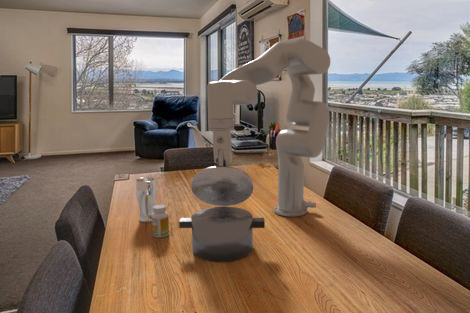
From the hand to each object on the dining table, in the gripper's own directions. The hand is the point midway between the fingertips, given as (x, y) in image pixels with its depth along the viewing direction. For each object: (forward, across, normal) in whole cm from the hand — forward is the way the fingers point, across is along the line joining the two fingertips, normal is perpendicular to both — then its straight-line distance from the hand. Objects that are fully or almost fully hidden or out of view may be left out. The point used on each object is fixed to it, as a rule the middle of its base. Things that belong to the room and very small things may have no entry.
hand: (223, 183), depth 113 cm
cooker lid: (+1, -2, 0) cm, 2 cm away
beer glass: (+19, +18, +30) cm, 39 cm away
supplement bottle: (+19, +4, +21) cm, 29 cm away
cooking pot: (+18, -6, 0) cm, 19 cm away
